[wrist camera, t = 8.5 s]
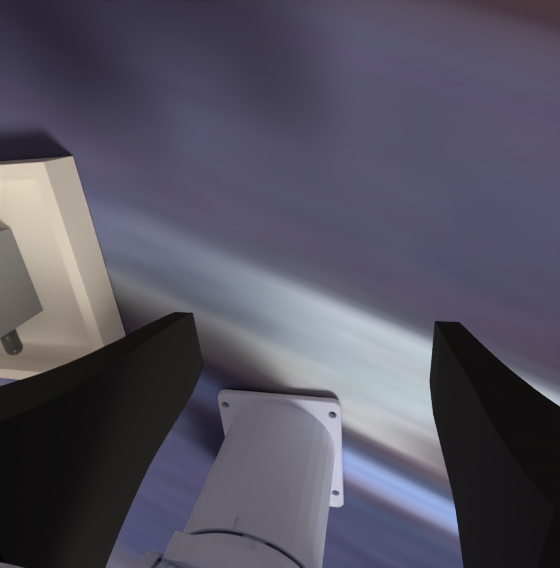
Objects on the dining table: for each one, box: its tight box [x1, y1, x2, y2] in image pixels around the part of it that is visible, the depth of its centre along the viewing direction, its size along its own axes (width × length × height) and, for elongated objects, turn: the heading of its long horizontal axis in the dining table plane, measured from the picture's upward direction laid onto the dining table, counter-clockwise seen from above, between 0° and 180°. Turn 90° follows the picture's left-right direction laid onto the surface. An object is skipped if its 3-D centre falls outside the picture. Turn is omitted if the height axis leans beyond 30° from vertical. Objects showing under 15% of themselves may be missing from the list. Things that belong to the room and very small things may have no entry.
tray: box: [0, 156, 126, 380], centre depth 25 cm, size 14×14×2 cm
